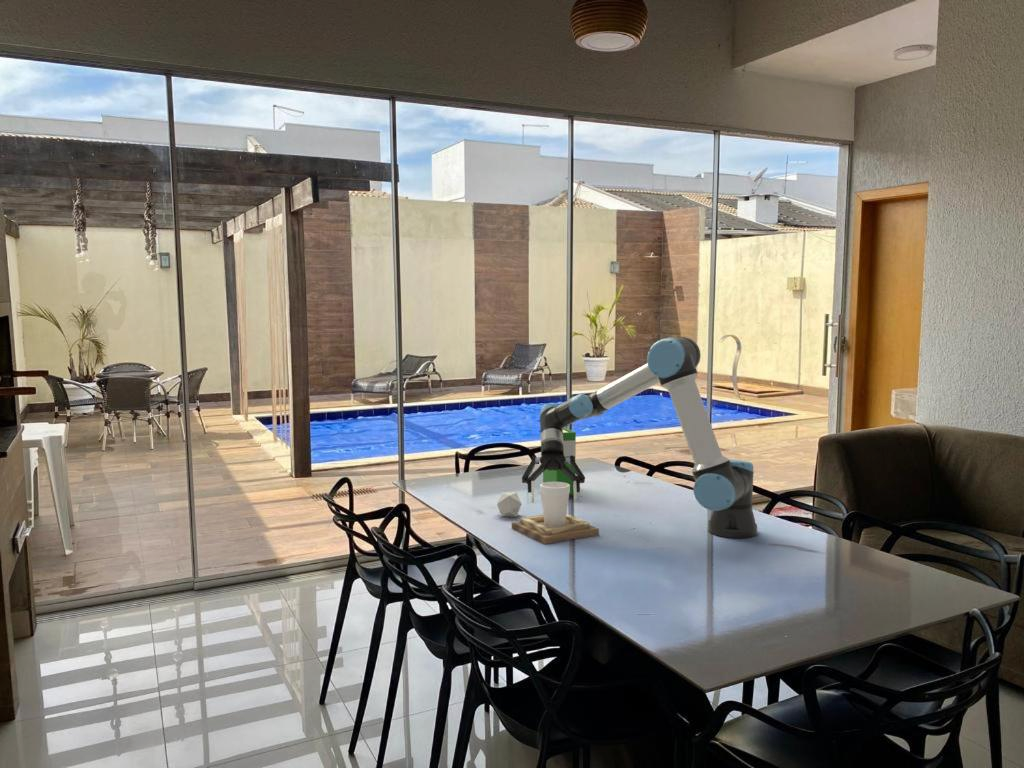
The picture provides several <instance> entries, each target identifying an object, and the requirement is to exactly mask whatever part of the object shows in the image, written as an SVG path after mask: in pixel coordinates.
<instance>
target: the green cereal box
mask: <svg viewBox="0 0 1024 768" xmlns="http://www.w3.org/2000/svg"><path fill="white" fill-rule="evenodd" d="M576 433H577V432H576V431H574V430H572V429H569V428H567V427H564V428H563V447H564V457H565V458H567V457H570V456H571V455H572V456H573V457H574V461H575V462H576V449H577V448H576V446H577V445H576V441H577V439H576V438H577V437H576V435H577V434H576ZM564 464H565V465H566V466H567V467H568V468H569V469H570V470H571V471H572V472H573V473H574V474H575V472H574V471H573V469H572V468H571V466H570V464H568V462H565V463H564ZM575 475H576V474H575ZM545 482H565V483H568V484H569V485H570V493H569V496H574V488H573V484H574V482H573V481H572V480H571V479H570V478H569V477H568V476H567V475H566V474H565V473H564V472H561V471H560V470H558V471H555V470H551V471H548V470H547V469H546V470H545V471H544V472H542V483H545Z"/></svg>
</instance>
